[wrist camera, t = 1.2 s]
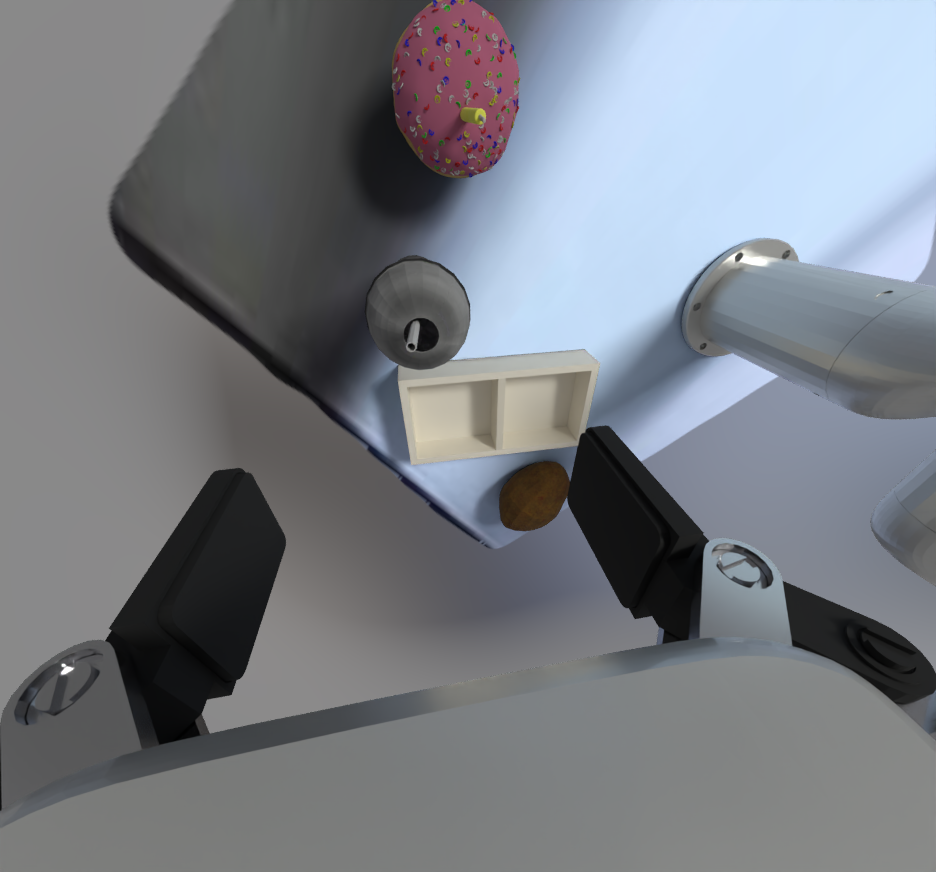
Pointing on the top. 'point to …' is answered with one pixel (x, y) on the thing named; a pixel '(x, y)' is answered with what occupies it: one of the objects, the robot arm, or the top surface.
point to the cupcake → (455, 87)
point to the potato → (533, 496)
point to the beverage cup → (418, 313)
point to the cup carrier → (497, 405)
